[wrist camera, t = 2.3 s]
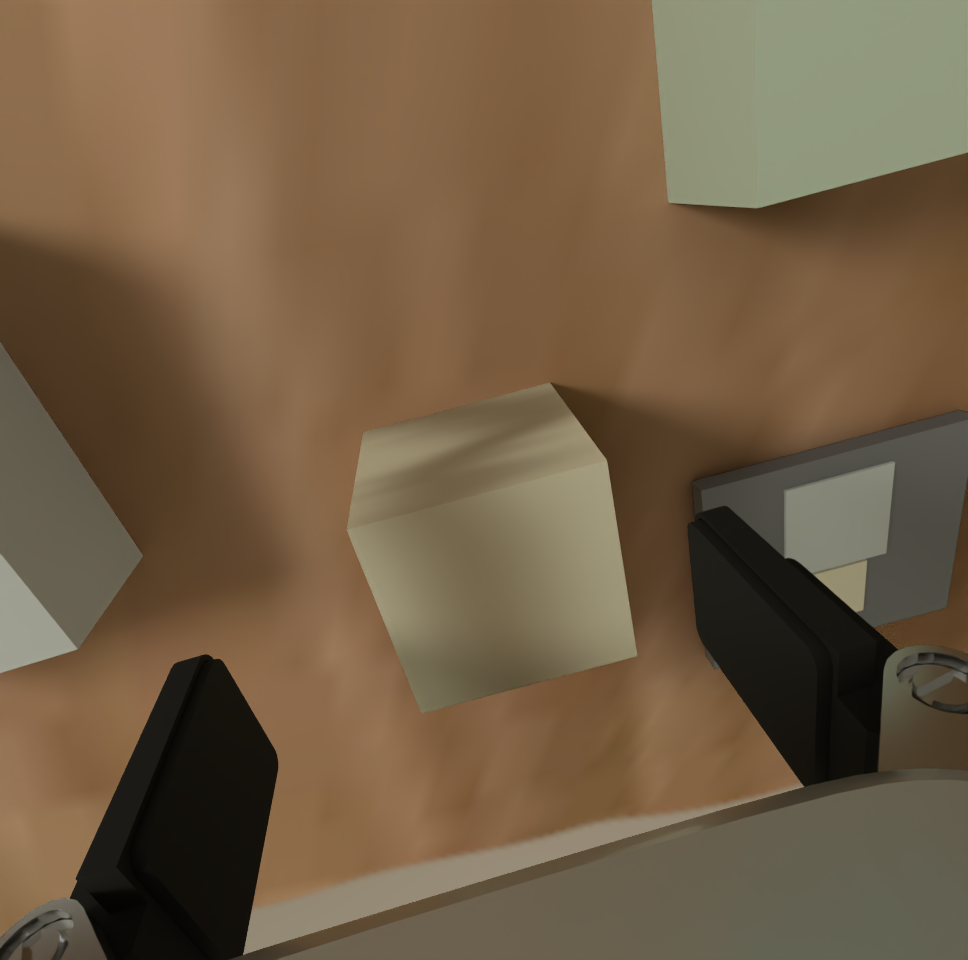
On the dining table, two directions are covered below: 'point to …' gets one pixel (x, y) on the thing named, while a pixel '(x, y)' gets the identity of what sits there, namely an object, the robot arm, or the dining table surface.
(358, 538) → the cream cube
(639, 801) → the dining table surface
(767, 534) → the card
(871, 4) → the sage cube
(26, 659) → the grey base block
